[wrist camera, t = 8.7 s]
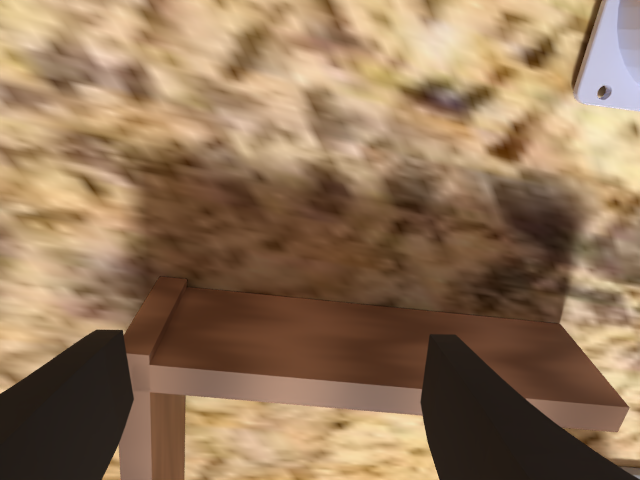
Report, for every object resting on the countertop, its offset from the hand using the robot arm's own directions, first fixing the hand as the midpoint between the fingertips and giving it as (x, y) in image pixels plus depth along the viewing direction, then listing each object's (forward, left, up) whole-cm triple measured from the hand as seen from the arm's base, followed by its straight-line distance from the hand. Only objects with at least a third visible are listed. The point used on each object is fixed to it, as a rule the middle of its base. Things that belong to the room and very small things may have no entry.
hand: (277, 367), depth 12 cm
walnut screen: (-4, +12, -10) cm, 16 cm away
